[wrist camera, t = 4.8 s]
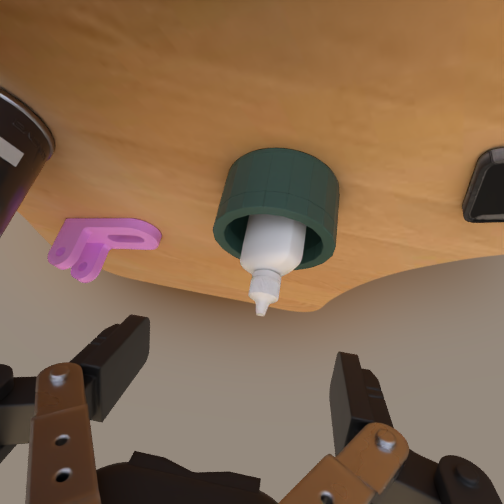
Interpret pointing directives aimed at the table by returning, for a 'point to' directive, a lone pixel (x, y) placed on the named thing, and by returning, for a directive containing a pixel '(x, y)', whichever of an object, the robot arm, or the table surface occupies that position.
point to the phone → (486, 190)
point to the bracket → (98, 243)
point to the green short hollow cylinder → (280, 200)
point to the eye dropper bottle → (270, 255)
